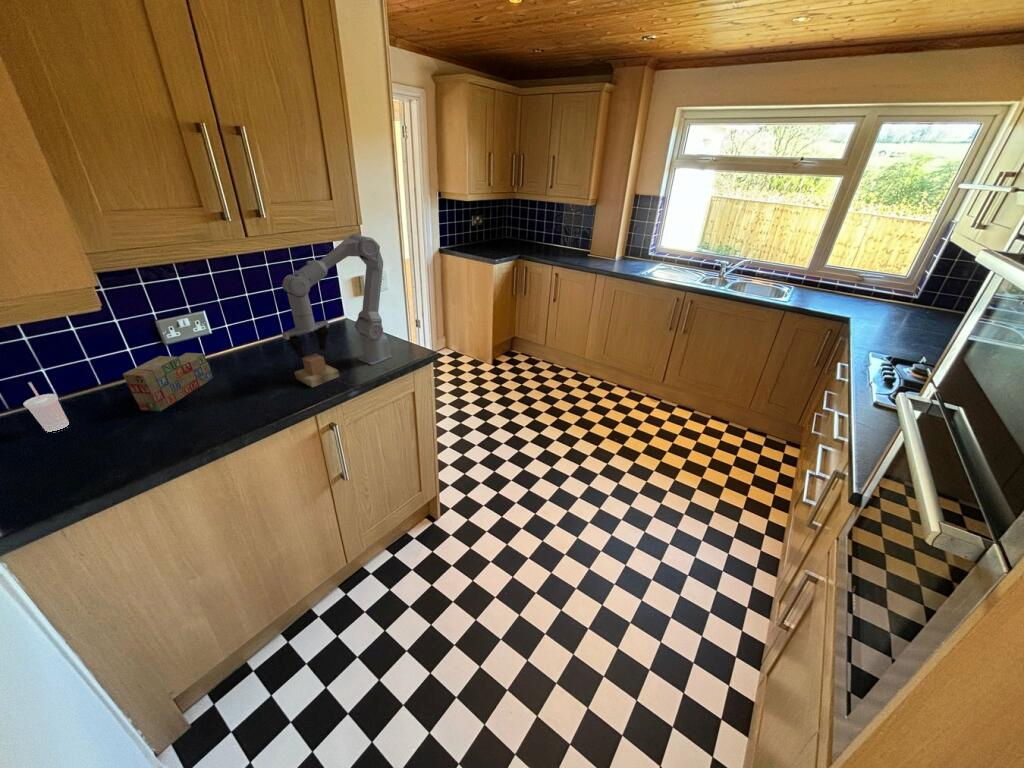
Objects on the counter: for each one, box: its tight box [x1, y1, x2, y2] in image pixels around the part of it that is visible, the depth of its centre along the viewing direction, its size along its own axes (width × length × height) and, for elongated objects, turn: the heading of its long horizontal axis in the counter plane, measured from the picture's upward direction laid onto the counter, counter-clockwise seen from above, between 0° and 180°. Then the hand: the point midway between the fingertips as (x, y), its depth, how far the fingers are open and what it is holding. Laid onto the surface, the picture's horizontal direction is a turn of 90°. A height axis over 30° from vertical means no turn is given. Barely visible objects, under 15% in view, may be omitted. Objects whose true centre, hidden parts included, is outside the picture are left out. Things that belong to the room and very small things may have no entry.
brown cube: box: [301, 353, 326, 375], centre depth 135 cm, size 5×5×5 cm
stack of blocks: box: [122, 352, 214, 412], centre depth 124 cm, size 21×6×12 cm, turn 175°
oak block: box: [294, 363, 340, 388], centre depth 137 cm, size 10×10×3 cm
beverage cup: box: [22, 381, 70, 433], centre depth 106 cm, size 6×6×14 cm
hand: (312, 353), depth 133 cm, fingers open, 7 cm apart
